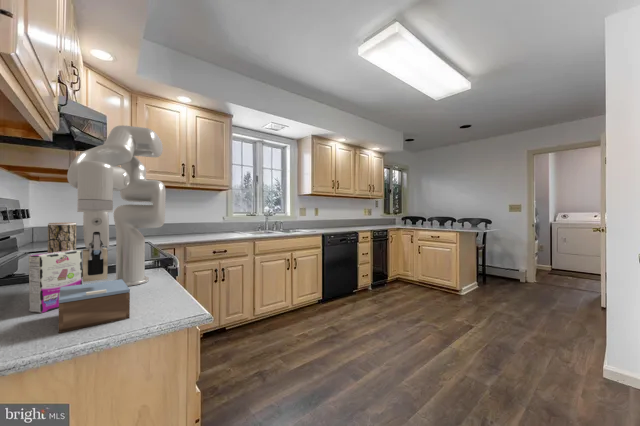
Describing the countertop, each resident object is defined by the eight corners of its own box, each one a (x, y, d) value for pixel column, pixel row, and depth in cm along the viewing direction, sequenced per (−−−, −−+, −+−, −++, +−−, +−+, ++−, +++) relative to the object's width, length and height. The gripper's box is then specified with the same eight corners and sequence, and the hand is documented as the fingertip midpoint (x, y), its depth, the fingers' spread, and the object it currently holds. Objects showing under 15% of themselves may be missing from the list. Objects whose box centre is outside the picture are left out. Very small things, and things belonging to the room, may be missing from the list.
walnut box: (60, 314, 76) (60, 290, 76) (121, 303, 85) (122, 281, 85) (58, 333, 65) (58, 304, 65) (129, 318, 74) (129, 292, 74)
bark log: (54, 303, 85) (55, 223, 84) (42, 300, 87) (42, 223, 87) (80, 297, 91) (81, 222, 91) (68, 294, 93) (68, 222, 93)
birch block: (82, 278, 75) (83, 249, 75) (105, 275, 78) (105, 248, 78) (83, 281, 71) (83, 251, 71) (107, 278, 75) (107, 249, 75)
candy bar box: (70, 299, 88) (70, 249, 88) (82, 301, 87) (83, 250, 87) (27, 312, 77) (27, 254, 77) (40, 313, 76) (41, 255, 76)
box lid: (60, 290, 76) (60, 285, 76) (122, 281, 85) (122, 277, 85) (58, 303, 65) (58, 297, 65) (129, 292, 74) (129, 287, 74)
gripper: (116, 207, 71) (115, 276, 71) (109, 207, 84) (108, 266, 84) (78, 206, 66) (77, 280, 66) (76, 206, 79) (76, 269, 79)
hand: (94, 271), depth 75 cm, fingers closed on birch block, 5 cm apart
